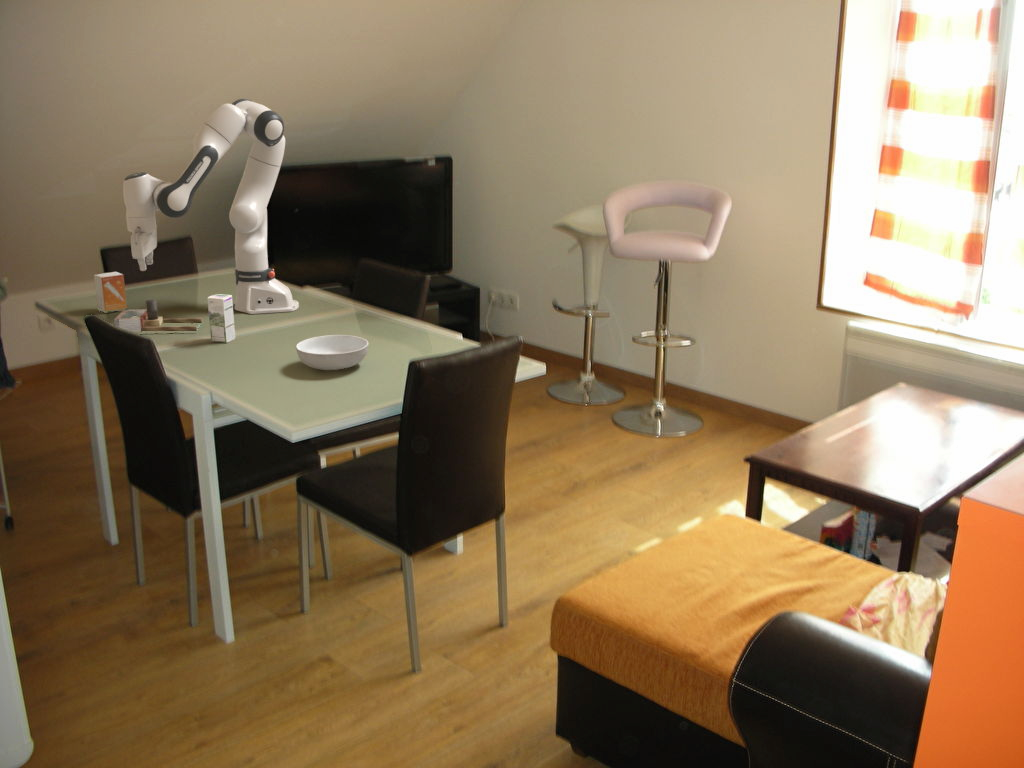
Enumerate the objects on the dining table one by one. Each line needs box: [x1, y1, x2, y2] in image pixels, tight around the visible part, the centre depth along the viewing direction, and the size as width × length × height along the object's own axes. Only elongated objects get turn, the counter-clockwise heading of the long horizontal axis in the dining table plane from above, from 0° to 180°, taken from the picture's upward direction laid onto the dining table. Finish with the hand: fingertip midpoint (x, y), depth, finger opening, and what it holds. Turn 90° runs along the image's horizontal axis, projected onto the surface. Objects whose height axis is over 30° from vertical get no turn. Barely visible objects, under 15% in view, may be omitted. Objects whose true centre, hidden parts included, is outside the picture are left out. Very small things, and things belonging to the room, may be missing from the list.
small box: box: [93, 271, 128, 311], centre depth 365 cm, size 8×6×13 cm
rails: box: [142, 317, 203, 332], centre depth 345 cm, size 18×11×2 cm, turn 97°
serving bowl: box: [295, 334, 369, 371], centre depth 306 cm, size 21×21×7 cm
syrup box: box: [206, 293, 236, 344], centre depth 330 cm, size 6×6×14 cm
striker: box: [140, 299, 164, 327], centre depth 343 cm, size 6×8×9 cm
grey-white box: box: [113, 308, 147, 332], centre depth 343 cm, size 8×13×5 cm, turn 7°
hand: (146, 267), depth 339 cm, fingers open, 8 cm apart
